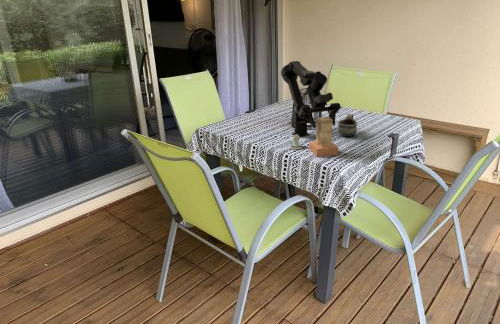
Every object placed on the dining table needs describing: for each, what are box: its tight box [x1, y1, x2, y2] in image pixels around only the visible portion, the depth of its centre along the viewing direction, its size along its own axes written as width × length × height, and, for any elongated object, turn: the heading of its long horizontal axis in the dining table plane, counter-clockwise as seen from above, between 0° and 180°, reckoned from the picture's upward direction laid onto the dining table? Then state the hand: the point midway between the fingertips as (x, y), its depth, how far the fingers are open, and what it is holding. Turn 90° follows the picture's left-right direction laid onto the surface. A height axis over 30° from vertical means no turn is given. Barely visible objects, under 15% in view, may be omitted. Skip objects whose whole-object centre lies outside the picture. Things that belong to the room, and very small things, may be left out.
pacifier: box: [288, 134, 305, 150], centre depth 173 cm, size 7×6×6 cm
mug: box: [337, 113, 358, 138], centre depth 187 cm, size 10×12×10 cm
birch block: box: [315, 116, 333, 147], centre depth 164 cm, size 5×5×12 cm
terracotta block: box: [308, 140, 339, 158], centre depth 167 cm, size 10×10×4 cm
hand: (324, 126), depth 163 cm, fingers open, 9 cm apart
